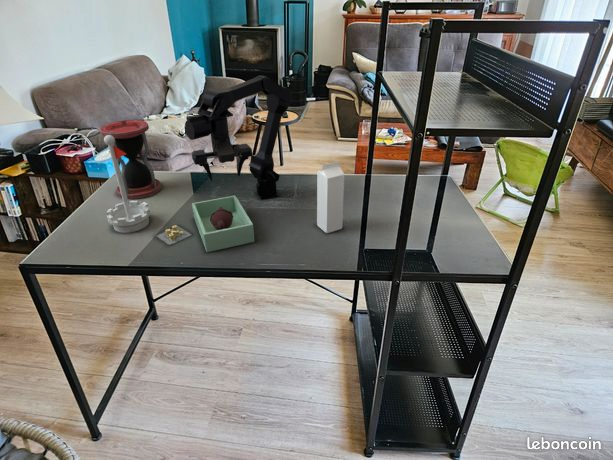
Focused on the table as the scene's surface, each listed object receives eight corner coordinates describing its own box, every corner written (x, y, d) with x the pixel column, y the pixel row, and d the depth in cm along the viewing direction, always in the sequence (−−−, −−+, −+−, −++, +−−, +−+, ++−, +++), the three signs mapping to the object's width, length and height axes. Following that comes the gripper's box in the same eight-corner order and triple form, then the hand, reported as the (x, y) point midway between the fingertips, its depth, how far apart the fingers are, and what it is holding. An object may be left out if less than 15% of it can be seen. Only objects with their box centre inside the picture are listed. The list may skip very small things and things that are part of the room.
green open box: (237, 211, 142) (235, 195, 139) (254, 241, 125) (253, 224, 121) (194, 219, 137) (191, 203, 134) (206, 252, 120) (203, 234, 117)
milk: (342, 229, 131) (345, 164, 119) (326, 233, 128) (327, 168, 117) (332, 220, 135) (334, 157, 124) (316, 225, 133) (317, 161, 121)
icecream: (205, 201, 133) (206, 228, 121) (227, 194, 133) (230, 220, 121) (214, 218, 137) (215, 245, 125) (234, 211, 137) (238, 237, 125)
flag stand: (101, 230, 131) (73, 139, 116) (129, 212, 142) (106, 126, 127) (134, 237, 128) (109, 144, 112) (160, 218, 138) (141, 130, 123)
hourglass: (169, 183, 163) (156, 120, 150) (146, 201, 149) (130, 134, 136) (133, 179, 166) (117, 118, 153) (108, 197, 152) (89, 131, 140)
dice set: (171, 241, 125) (170, 236, 124) (162, 235, 128) (161, 230, 127) (185, 235, 128) (184, 230, 127) (176, 229, 131) (175, 224, 130)
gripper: (193, 144, 119) (201, 192, 127) (255, 135, 125) (259, 182, 133) (187, 133, 128) (195, 179, 136) (245, 126, 134) (249, 170, 142)
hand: (225, 178), depth 137 cm, fingers open, 9 cm apart
